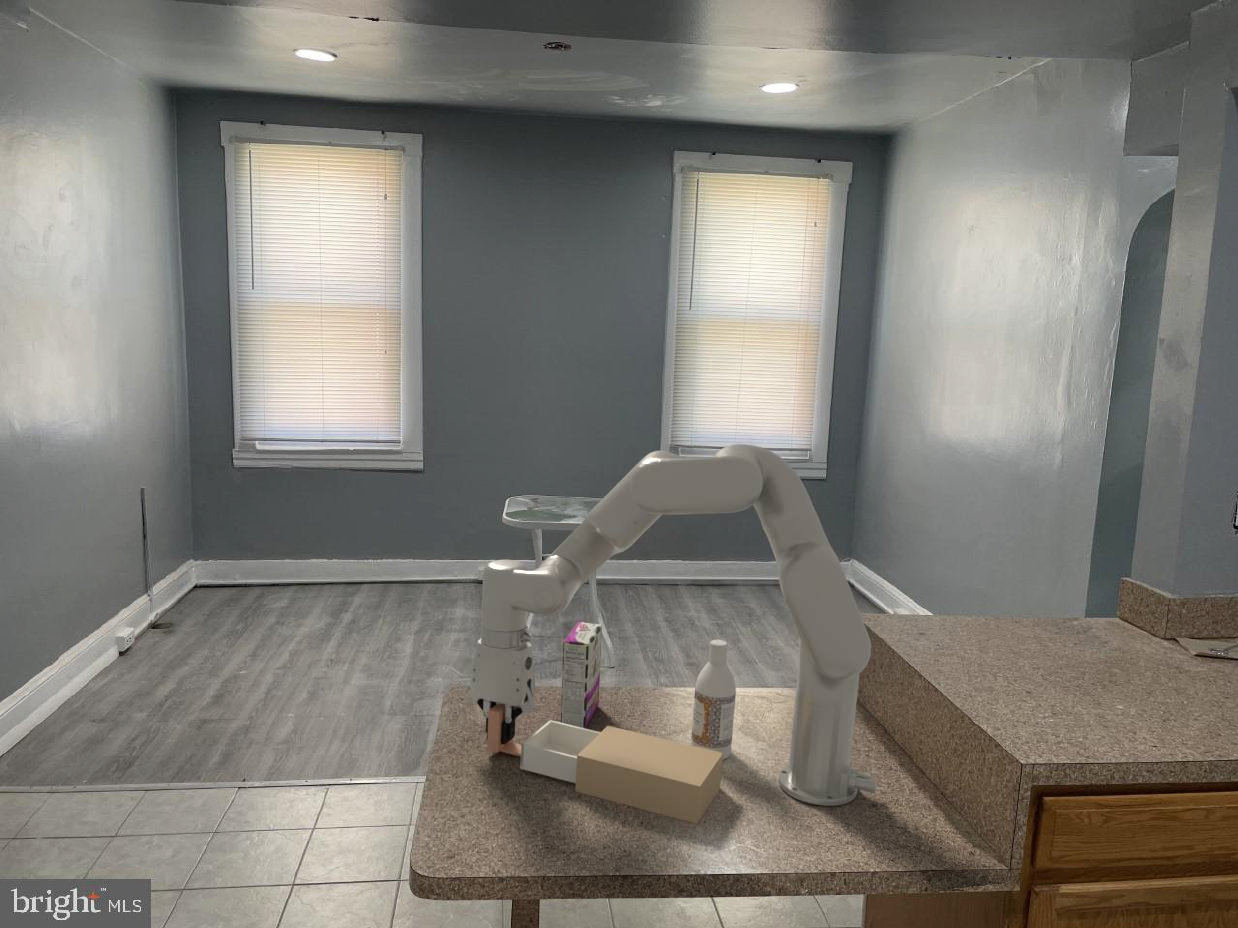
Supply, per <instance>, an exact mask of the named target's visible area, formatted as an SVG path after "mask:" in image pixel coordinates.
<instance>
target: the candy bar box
mask: <svg viewBox="0 0 1238 928" xmlns="http://www.w3.org/2000/svg"><path fill="white" fill-rule="evenodd" d="M602 630H603V623H602V624H601V623H593V622H585V621H578V622H577V623H576V624H575V626H574V627H573V629H572V630H571V631H570V632H569V634H567V636H566V637H565V639H564V640H563V643H562V644H563V647H562V648H563V649H562V650H563V651H562V669H561V673H562V675H561V676H562V677H561V678H562V681H561V682H562V683H561V703H560V705H561V707H560V723H564V724H569V725H573V726H577V727H581V728H585V729H587V727H588V725H589V724H590V721H591V719H592V718H593V716H594V715H595V713H596V710H597V709H598V707H599V706H600V703H599V700H600V699H599V698H600V682H601V681H600V676H601V658H602V657H601V653H602Z"/></svg>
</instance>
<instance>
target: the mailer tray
mask: <svg viewBox="0 0 1238 928" xmlns="http://www.w3.org/2000/svg"><path fill="white" fill-rule="evenodd" d="M503 721H505V704H501V703H498V704H497V705H495V706H494V707H492V708H491V709H490V710H488V738H487V737H486V741H487V743H486V746H487V747H486V750H487V751H490V752H494V753H499V752H502V753H505V754H508V755H509V754H510V755H513V756H515V757H516V756H517V757H520V768H519V769H521V770H524V771H527V772H532V773H536V774H539V775H542V776H547V777H551V778H554V779H558V780H562V781H565V782H570V783H573V784H576V768H577V755H578V754H579V753H580V752H581V751H582V750H583V749H584V748H585V747H586V746H587V745H588V744H589V743H590V742H591V741H592V740H593V739H594V738H596V737H597V736H598V735H599V734H600V733H601V732H602V731H596V730H594V729H589V728H586V729H585V728H581V727H577V726H573V725H569V724H564V723H561V721H560V722H559V721H555V720H551V719H549V720H548V721H547V722H546V723H545V724H544V725H542V726H541V727H540V728H539V729H538V730H536V731H535V732H534V733H532V735H530V736H529V737H527V739H525V741H523V742H522V743H521V744H519V743H516V742H512V741H513V739H512V740H510V741H509V742H508V743H507V744H505V745H503V744H501V728H502V722H503Z"/></svg>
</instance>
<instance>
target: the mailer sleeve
mask: <svg viewBox="0 0 1238 928" xmlns="http://www.w3.org/2000/svg"><path fill="white" fill-rule="evenodd" d="M600 732H601V733H600V734H599V735H598V736H597V737H596V738H594V739H593V740H592V741H591V742H590V743H589V744H588V745H587V746H586V747H585V748H584V749H583V750H582V751H581V752H580V753H579V754H578V755H577V768H576V783H575V789H574V790H575V792H577V793H581V794H583V795H588V796H592V797H595V798H599V799H601V800H602V799H603V800H606V801H610V802H614V803H618V804H621V805H625V806H628V807H629V806H630V807H633V808H635V809H636V808H637V809H640V810H643V811H644V810H645V811H647V812H652V813H653V814H654V813H655V814H659V815H662V816H666V817H671V818H673V819H677V820H680V821H684V822H688V823H692V824H696V825H698V824H699V821H701V819H702V817H703V816H704V815H705V813H706V811H707V810H708V808H709V807H710V805H711V803H712V802H713V800H714V798H715V797H716V796H717V794H718V792H719V791H720V789H721V783H722V772H723V753H721V752H717V751H713V750H708V749H704V748H700V747H696V746H692V745H691V744H687V743H683V742H678V741H674V740H669V739H666V738H662V737H658V736H653V735H649V734H646V733H645V734H644V733H641V732H637V731H632V730H627V729H623V728H619V727H615V726H611V725H606V726H605V728H603V730H602V731H600Z"/></svg>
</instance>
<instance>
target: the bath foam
mask: <svg viewBox="0 0 1238 928" xmlns="http://www.w3.org/2000/svg"><path fill="white" fill-rule="evenodd" d="M709 642H710V643H709V657H708V662H707V663H706V664H705V666H704V667H703V668H702V670H701V671H700V672H699V674H698V675H697V679H696V681H695V686H694V697H693V711H692V712H693V713H692V724H691V742H690V745H692V746H696V747H700V748H704V749H708V750H713V751H717V752H721V753H723V760H726V759H728V758H729V757H730V756H731V752H732V742H733V731H734V719H735V707H736V706H735V705H736V696H737V695H736V693H737V691H736V690H737V689H736V681H735V678H734V675H733V673H732V671H731V669H730V667H729V666H728V664H727V656H728V655H727V654H728V642H727V641H725V640H722V639H713V640H711V641H709ZM723 760H722V761H723Z"/></svg>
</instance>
